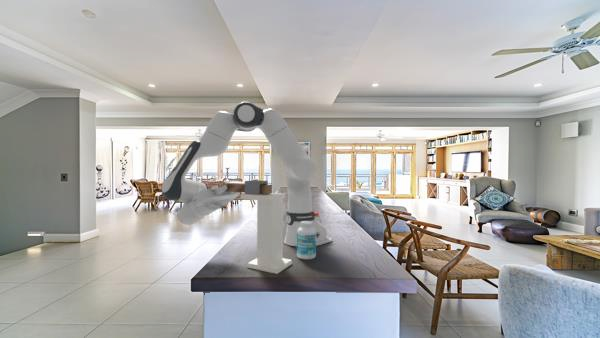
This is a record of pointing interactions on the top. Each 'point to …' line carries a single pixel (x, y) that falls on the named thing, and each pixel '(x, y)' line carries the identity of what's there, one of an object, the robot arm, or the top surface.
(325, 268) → the top surface
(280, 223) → the post
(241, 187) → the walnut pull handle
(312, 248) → the pill bottle
